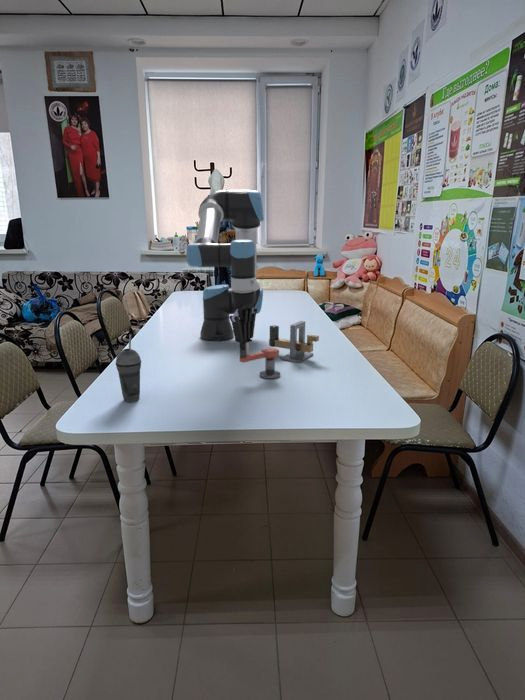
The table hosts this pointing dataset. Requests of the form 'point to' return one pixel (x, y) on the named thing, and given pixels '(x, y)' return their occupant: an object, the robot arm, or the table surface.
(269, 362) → the dark grey metal pedestal
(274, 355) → the red joystick lever
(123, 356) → the beverage cup
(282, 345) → the hook bar
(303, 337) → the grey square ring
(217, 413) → the table surface
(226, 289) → the robot arm
